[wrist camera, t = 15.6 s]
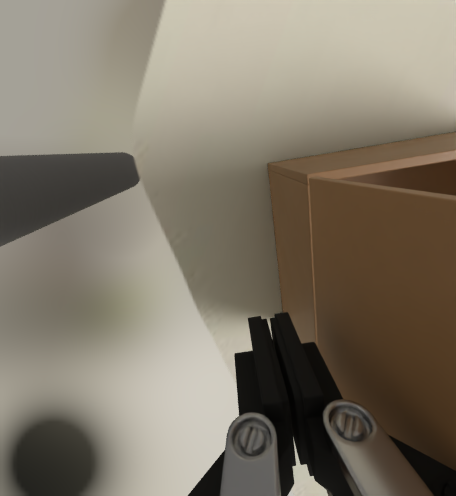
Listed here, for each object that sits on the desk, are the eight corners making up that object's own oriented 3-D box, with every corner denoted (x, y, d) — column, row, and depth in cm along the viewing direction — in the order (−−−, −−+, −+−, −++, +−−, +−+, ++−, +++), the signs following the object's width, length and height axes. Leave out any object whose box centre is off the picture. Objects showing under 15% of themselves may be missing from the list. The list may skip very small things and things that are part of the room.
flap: (326, 422, 14) (321, 424, 14) (316, 176, 10) (308, 177, 10) (468, 666, 7) (458, 670, 7) (646, 220, 3) (626, 226, 3)
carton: (283, 320, 23) (319, 413, 15) (267, 163, 18) (306, 174, 10) (459, 293, 22) (593, 371, 14) (487, 126, 18) (702, 108, 10)
